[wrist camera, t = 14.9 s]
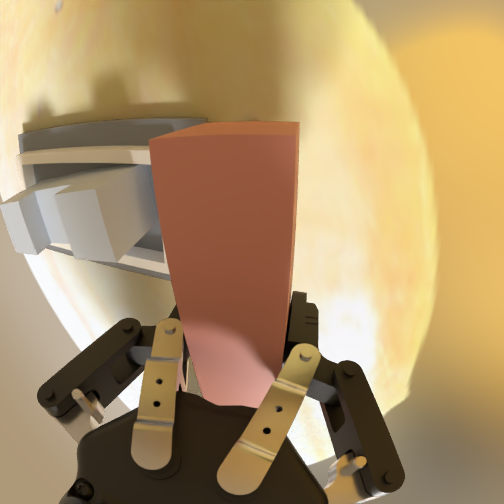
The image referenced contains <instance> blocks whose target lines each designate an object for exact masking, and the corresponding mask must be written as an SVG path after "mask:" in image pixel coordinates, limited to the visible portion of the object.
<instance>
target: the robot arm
mask: <svg viewBox="0 0 504 504" xmlns="http://www.w3.org/2000/svg"><path fill="white" fill-rule="evenodd" d="M306 298H307V293H304V292H298V291H293V294H292V299H291V303H290V309H289V317H288V325H287V333H286V341H285V349H284V356H283V365H282V370H281V372H280V374H279V376H278V378H277V379H276V380H274V382H273V383H272V385H271V387H270V388H269V390H268V392H267V394H266V395H265V397H264V399H263V401H262V402H261V404H260V406H259V408H253V407H248V406H243V405H216V404H214V403H212V402H210V401H208V400H206V399H204V398H202V397H200V396H198V395H195V394H191V393H188V392H187V386H188V367H189V356H190V353H189V349H188V346H187V342H186V339H185V335H184V331H183V327H182V324H181V320H180V316H179V312H178V308H177V304H176V306H175V307H174V309H173V311H172V313H171V314H170V316H169V318H167V319H164V320H162V321H160V322H159V323H158V324H157V326H141V324H140V322H139V321H138V320H136V319H134V318H125V319H122V320H120V321H119V322H118V323H117V324H115V325H114V326H113V327H112V328H110V329H109V330H108V331H107V332H105V333H104V334H103V335H102V336H100V337H99V338H98V339H97V340H96V341H94V342H93V343H92V344H91V345H89V346H88V347H87V348H86V349H85V350H83V351H82V352H81V353H80V354H79V355H77V356H76V357H75V358H74V359H73V360H71V361H70V362H69V363H68V364H67V365H65V366H64V367H63V368H62V369H61V370H59V371H58V372H57V373H56V374H55V375H54V376H52V377H51V378H50V379H49V380H48V381H47V382H45V383H44V384H43V385H42V386H41V387H40V388H39V390H38V393H37V399H38V402H39V403H40V405H41V406H42V407H43V408H44V409H45V410H46V411H47V412H48V414H49V415H51V416H52V417H53V418H54V419H55V420H56V421H57V422H58V423H59V424H60V425H62V426H63V427H64V428H65V429H66V431H67V432H68V433H69V434H70V435H71V436H72V437H73V439H74V440H75V441H76V442H77V443H78V448H77V460H78V472H77V477H76V480H75V483H74V484H73V486H72V487H71V488H70V489H69V490H68V491H67V493H66V494H65V495H64V496H63V497H62V499H61V500H60V502H59V504H353V503H363V502H367V501H370V500H373V499H376V498H378V497H381V496H384V495H387V494H389V493H392V492H394V491H396V490H398V489H399V488H400V487H401V486H402V484H403V482H404V479H405V473H404V470H403V467H402V464H401V462H400V459H399V457H398V454H397V451H396V449H395V446H394V443H393V441H392V438H391V436H390V433H389V431H388V429H387V426H386V424H385V421H384V419H383V416H382V414H381V412H380V409H379V407H378V405H377V402H376V400H375V398H374V395H373V393H372V391H371V388H370V386H369V384H368V381H367V379H366V377H365V375H364V373H363V370H362V368H361V367H360V366H359V365H358V364H357V363H355V362H353V361H349V360H345V361H341V362H339V363H338V364H337V363H334V362H332V361H329V360H327V359H326V358H324V357H323V356H322V355H321V353H320V352H319V349H318V309H317V307H316V305H315V304H314V303H307V302H306ZM143 371H144V375H143V381H142V387H141V394H140V401H139V407H137V408H135V409H134V410H132V411H130V412H128V413H126V414H124V415H122V416H120V417H118V418H116V419H114V420H112V421H110V422H108V423H106V424H104V425H102V426H100V427H99V424H101V423H102V422H103V418H104V416H105V410H104V409H105V408H106V407H107V406H108V405H109V404H110V403H111V402H112V401H113V400H114V399H115V398H116V397H117V396H118V395H119V394H120V393H121V392H122V391H123V390H124V389H125V388H126V387H127V386H128V385H129V384H130V383H132V382H133V381H134V380H135V379H136V378H137V377H138V376H139V375H140V374H141V373H142V372H143ZM305 395H306V396H308V397H311V398H313V399H315V400H318V401H319V402H320V405H321V408H322V412H323V415H324V418H325V421H326V425H327V428H328V431H329V434H330V438H331V441H332V444H333V447H334V451H335V454H336V457H337V461H336V462H334V463H333V464H332V465H331V467H330V469H329V481H328V484H327V486H326V487H325V488H324V489H323V488H322V487H321V485H320V484H319V483H318V481H317V480H316V478H315V477H314V475H313V474H312V473H311V471H310V470H309V468H308V467H307V465H306V464H305V462H304V461H303V459H302V458H301V456H300V455H299V453H298V452H297V450H296V449H295V447H294V446H293V444H292V443H291V441H290V440H289V438H288V437H287V433H288V431H289V429H290V427H291V425H292V423H293V421H294V419H295V417H296V414H297V412H298V410H299V408H300V406H301V404H302V401H303V399H304V397H305Z"/></svg>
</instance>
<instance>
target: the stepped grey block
mask: <svg viewBox="0 0 504 504" xmlns="http://www.w3.org/2000/svg"><path fill="white" fill-rule="evenodd" d="M0 209H1V212H2V215H3V218H4V221H5V224H6V226H7V229H8V232H9V235H10V237H11V240H12V242H13V245H14V247H15V250H16V252H17V253H25V254H34V255H38V254H39V253H40V252H41V251H43V250H44V249H45V248H46V247H47V246H49V245H50V244H51V243H60V244H70V247H71V249H72V252H73V255H74V257H75V259H83V260H93V261H104V262H115V263H117V262H118V261H119V260H120V259H121V258H122V257H123V256H124V255H125V254H126V253H127V252H128V251H129V250H130V249H131V248H132V247H133V246H134V245H135V244H136V243H137V242H138V241H139V240H140V239H141V238H142V237H143V236H144V235H145V234H146V233H147V232H148V231H149V230H150V229H151V228H152V227H153V226H154V225H155V224H156V223H157V222H158V219H157V215H156V210H155V205H154V201H153V196H152V191H151V185H150V180H149V175H148V169H147V164H123V165H116V166H110V167H104V168H98V169H93V170H87V171H82V172H77V173H72V174H67V175H63V176H58V177H54V178H49V179H45V180H41V181H39V182H38V183H36V184H34V185H32V186H30V187H29V188H27V189H25V190H23V191H22V192H20V193H18V194H16V195H15V196H13V197H11V198H10V199H8V200H6V201H5V202H3V203H2V204H0Z"/></svg>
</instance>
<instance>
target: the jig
mask: <svg viewBox="0 0 504 504" xmlns="http://www.w3.org/2000/svg"><path fill="white" fill-rule="evenodd" d="M204 123H207V118H134V119H118V120H105V121H95V122H86V123H78V124H71V125H64V126H57V127H51V128H46V129H40V130H35V131H30V132H26V133H23V134H20V135H18V139H19V148H20V155H17V156H16V158H17V165H18V171H19V177H20V183H21V188H22V191H23V190H25V189H27V188H29V187H30V186H32V185H34V184H36V183H38V182H39V181H41V180H45V179H49V178H54V177H58V176H63V175H67V174H72V173H77V172H82V171H87V170H93V169H98V168H104V167H110V166H116V165H123V164H147V169H148V175H149V180H150V185H151V191H152V196H153V201H154V205H155V210H156V215H157V219H158V222H157V223H156V224H155V225H154V226H153V227H152V228H151V229H150V230H149V231H148V232H147V233H146V234H145V235H144V236H143V237H142V238H141V239H140V240H139V241H138V242H137V243H136V244H135V245H134V246H133V247H132V248H131V249H130V250H129V251H128V252H127V253H126V254H125V255H124V256H123V257H122V258H121V259H120V260H119V261H118V262H117V263H115V262H104V261H93V260H89V261H93V262H97V263H100V264H104V265H108V266H112V267H116V268H120V269H124V270H128V271H132V272H136V273H140V274H144V275H148V276H152V277H157V278H161V279H165V280H170V281H171V278H170V273H169V268H168V264H167V259H166V254H165V249H164V243H163V238H162V233H161V227H160V221H159V215H158V209H157V203H156V197H155V190H154V183H153V175H152V168H151V159H150V151H149V141H148V140H150V139H153V138H156V137H159V136H162V135H165V134H168V133H172V132H175V131H178V130H182V129H185V128H189V127H192V126H196V125H200V124H204ZM46 248H47V249H50V250H53V251H57V252H60V253H64V254H67V255H71V256H74V255H73V252H72V249H71V247H70V244H60V243H51V244H50V245H49V246H47V247H46Z"/></svg>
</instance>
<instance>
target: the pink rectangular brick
mask: <svg viewBox="0 0 504 504" xmlns="http://www.w3.org/2000/svg"><path fill="white" fill-rule="evenodd" d="M148 141H149V151H150V159H151V168H152V175H153V183H154V190H155V197H156V203H157V209H158V215H159V221H160V227H161V233H162V238H163V243H164V249H165V254H166V259H167V264H168V268H169V273H170V278H171V282H172V287H173V291H174V295H175V300H176V304H177V308H178V312H179V316H180V320H181V324H182V327H183V331H184V335H185V339H186V342H187V346H188V349H189V353H190V356H191V360H192V363H193V367H194V370H195V373H196V376H197V380H198V383H199V386H200V389H201V392H202V395H203V398H204V399H206V400H208V401H210V402H212V403H214V404H216V405H243V406H248V407H253V408H259V406H260V404H261V402H262V401H263V399H264V397H265V395H266V394H267V392H268V390H269V388H270V387H271V385H272V383H273V382H274V380H276V379H277V378H278V376H279V374H280V372H281V370H282V365H283V356H284V349H285V341H286V333H287V325H288V317H289V309H290V299H291V287H292V274H293V261H294V246H295V230H296V211H297V190H298V162H299V122H279V121H235V122H211V123H204V124H200V125H196V126H192V127H189V128H185V129H182V130H178V131H175V132H172V133H168V134H165V135H162V136H159V137H156V138H153V139H150V140H148Z"/></svg>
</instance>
